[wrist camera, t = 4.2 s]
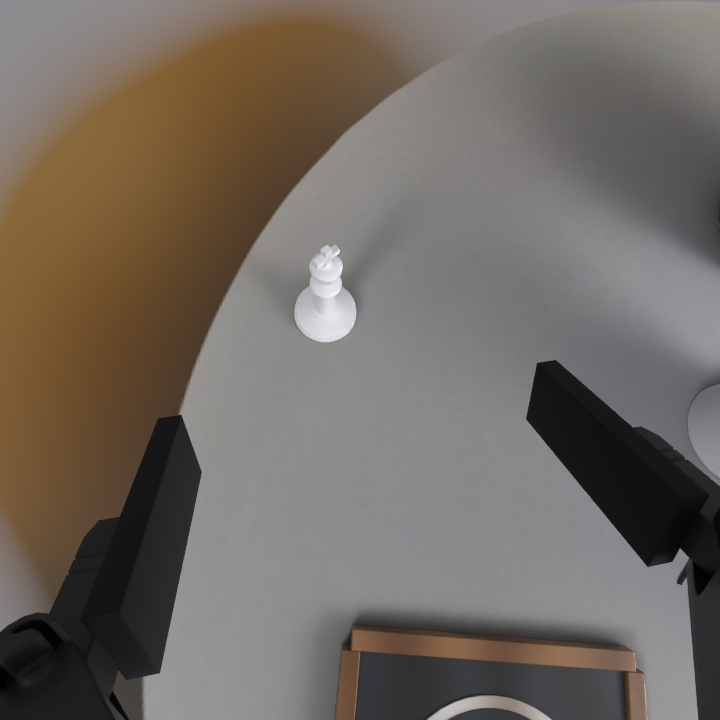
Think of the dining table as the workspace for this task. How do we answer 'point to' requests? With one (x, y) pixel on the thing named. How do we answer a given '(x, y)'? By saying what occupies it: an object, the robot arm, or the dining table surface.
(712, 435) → the white cylinder
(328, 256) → the chess piece
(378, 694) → the slate
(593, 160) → the dining table surface
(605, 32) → the dining table surface
